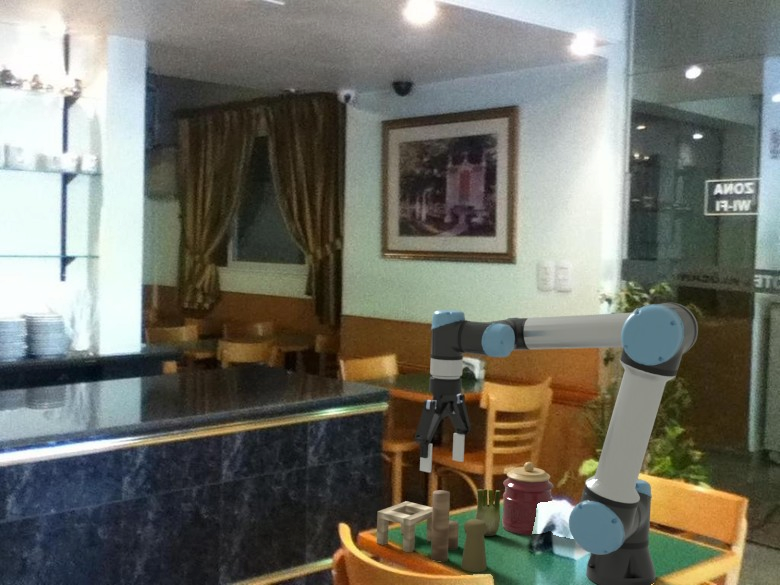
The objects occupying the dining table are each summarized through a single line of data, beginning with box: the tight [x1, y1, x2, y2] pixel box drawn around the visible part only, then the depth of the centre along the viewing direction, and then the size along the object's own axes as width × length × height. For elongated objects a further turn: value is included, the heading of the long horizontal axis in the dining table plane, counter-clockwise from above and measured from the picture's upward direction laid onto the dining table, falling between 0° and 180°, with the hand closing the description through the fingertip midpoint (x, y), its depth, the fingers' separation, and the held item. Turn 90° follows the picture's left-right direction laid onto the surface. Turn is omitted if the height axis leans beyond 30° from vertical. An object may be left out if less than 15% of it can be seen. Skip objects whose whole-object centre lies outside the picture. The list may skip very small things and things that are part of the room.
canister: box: [501, 461, 554, 536], centre depth 250 cm, size 13×13×18 cm
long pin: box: [430, 489, 451, 563], centre depth 224 cm, size 4×4×16 cm
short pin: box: [448, 519, 460, 551], centre depth 233 cm, size 4×4×6 cm
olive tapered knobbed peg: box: [460, 518, 488, 573], centre depth 220 cm, size 6×6×11 cm
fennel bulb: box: [474, 488, 502, 537], centre depth 243 cm, size 6×5×12 cm
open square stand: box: [376, 500, 433, 553], centre depth 236 cm, size 10×12×8 cm
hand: (442, 466), depth 223 cm, fingers open, 13 cm apart
